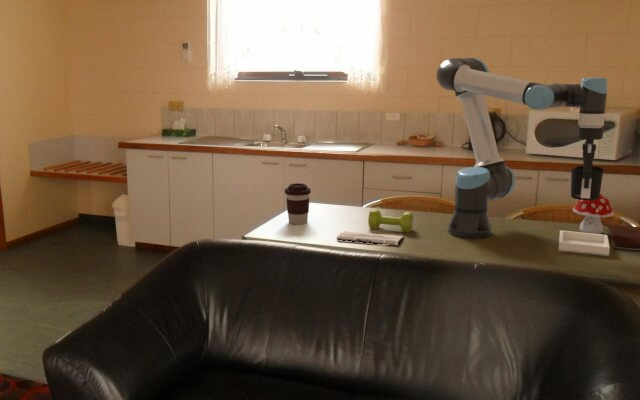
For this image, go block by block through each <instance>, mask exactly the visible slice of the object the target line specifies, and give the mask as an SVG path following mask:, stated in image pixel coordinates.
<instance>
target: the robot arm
mask: <svg viewBox="0 0 640 400" xmlns="http://www.w3.org/2000/svg"><path fill="white" fill-rule="evenodd" d="M489 71H490V70H489V68H488V66H487V63H485V62H484V61H482V60H481V59H478V58H475V57H467V58H465V57H463V58H462V57H459V58H457V57H454V58H453V57H452V58H448V59H445V60H443V61H442V62H441V64H439V66H438V67H437V70H436V82H437V83H438V85H439V86H440V87H441V88H443V89H444V90H446V91H453V92H454V94H455V98H456V99H457V100H458V101H460V102H461V106H462V111H463V113H464V117H465V123H466V126H467V131H468V135H469V138H470V142H471V147H472V150H473V154H474V158H475V159H474V160H475V164H474V165H473V166H471V167H463V168H461V169H460V170H458V171H457V173H456V175H455V176H456V177H455V182H454V183H455V190H454V191H455V193H454V209H453V213H452V217H451V219H450V221H449V224H448V230H447V231H448V233H449V234H451V235H453V236H455V237H459V238H466V239H483V238H487V237H489V236H491V235H492V226H491V222H490V218H489V215H488V214H489V213H488V206H489V202H490V201H493V200H499V199H502V198H505V197H507V196H508V195H509V194H511V193H512V191H513V190H514V189H515V185H516V176H515V173H514V172H513V170H512V169H510V167H508V166H507V164H506V160H505V159H504V158H502V157H501V156H500V154H499V151H498V147H497V142H496V138H495V137H496V136H495V133H494V130H493V126H492V121H491V118H490V113H489V110H488V106H487V100H486V97H487V96H488V97H490V98H491V97H492V98H496V99H500V100H503V101H508V102H511V103H516V104H521V105H524V106H527V107H528V108H530V109H532V110H538V111H541V110H542V111H543V110H547V109H556V108H579V113H578V121H577V123H578V126H579V127H577V139H579V140H585V141H584V143H582V148H581V149H582V158H583V160H582V163H583V164H582V166H584V170H583V176H580V178H582V187H581V198H590V191H591V179H592V166H594V165H593V163H594V162H593V161H594V159H595V155H596V153H595V152H596V151H597V144H595V143H594V141H599V140H602V139H603V138H604V131H605V129H604V127H603V126H604V125H605V120H607V116H606V115H605V113H606V104H607V96H608V80H607V78H605V77H583V78H582V80H581V82H580V83H557V82H556V83H549V84H543V83H538V82H533V81H529V80H525V79H519V78H515V77H510V76H506V75H500V74H497V73H491V72H489ZM485 96H486V97H485ZM585 173H589V174H585Z"/></svg>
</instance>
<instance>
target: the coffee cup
mask: <svg viewBox="0 0 640 400" xmlns="http://www.w3.org/2000/svg"><path fill="white" fill-rule="evenodd" d="M311 190H312V189H311V188H310V187H308V185H307V184H305V183H299V182H297V183H296V182H295V183H291V184H289V185H288V187H285V188H284V193H285V195H286V210H287V212H286V213H287V214H288V215H287V216H288V223H289V224H291V225H295V224H301V225H305V224H307V223H308V218H309V209H310V194H311Z"/></svg>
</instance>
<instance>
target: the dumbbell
mask: <svg viewBox="0 0 640 400" xmlns="http://www.w3.org/2000/svg"><path fill="white" fill-rule="evenodd" d="M367 223H368V228H369V229H370V228H374V229H373V230H377V229H378V228H380V226H381V225H382V224H383V225H388V226H389V225H390V226H399V227H400V228H401V229H400V230H401V231H402V232H403V233H411V231H412V229H413V227H414V214H413V213H412V211H405V212H404V213H403V214H402V215H400V216H399V217H397V216H387V215H382V213H381V211H380V210H379V209H377V208H372V209H371V210H370V211H369V213H368V219H367ZM376 228H377V229H376Z"/></svg>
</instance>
